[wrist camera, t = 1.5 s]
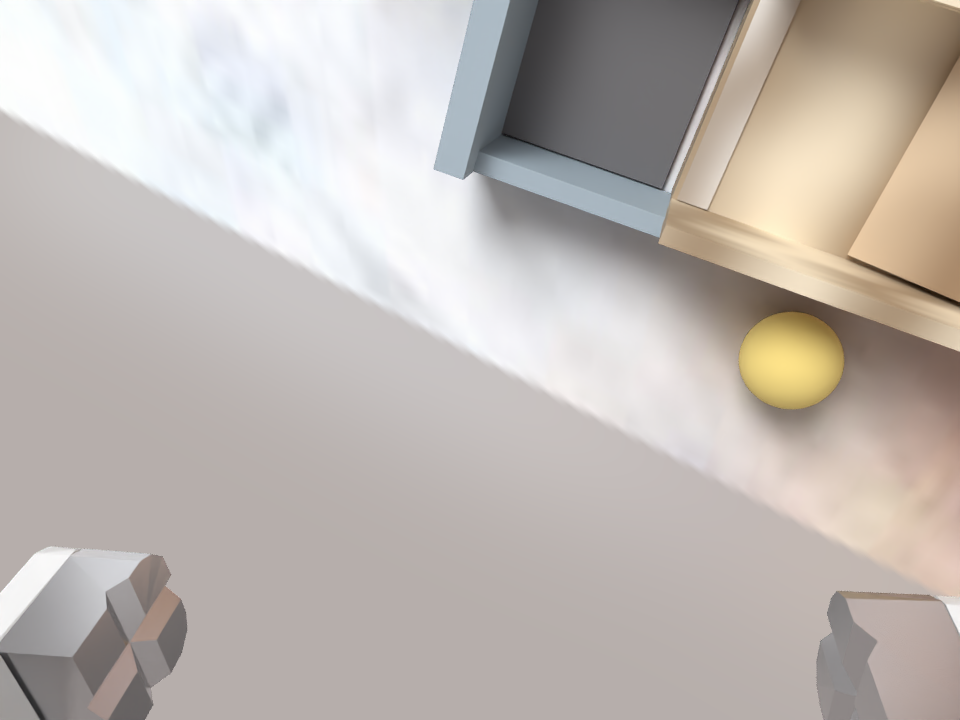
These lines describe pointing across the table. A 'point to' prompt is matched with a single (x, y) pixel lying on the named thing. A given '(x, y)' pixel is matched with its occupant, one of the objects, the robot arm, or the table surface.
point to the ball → (791, 360)
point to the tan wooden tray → (835, 160)
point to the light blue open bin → (581, 98)
